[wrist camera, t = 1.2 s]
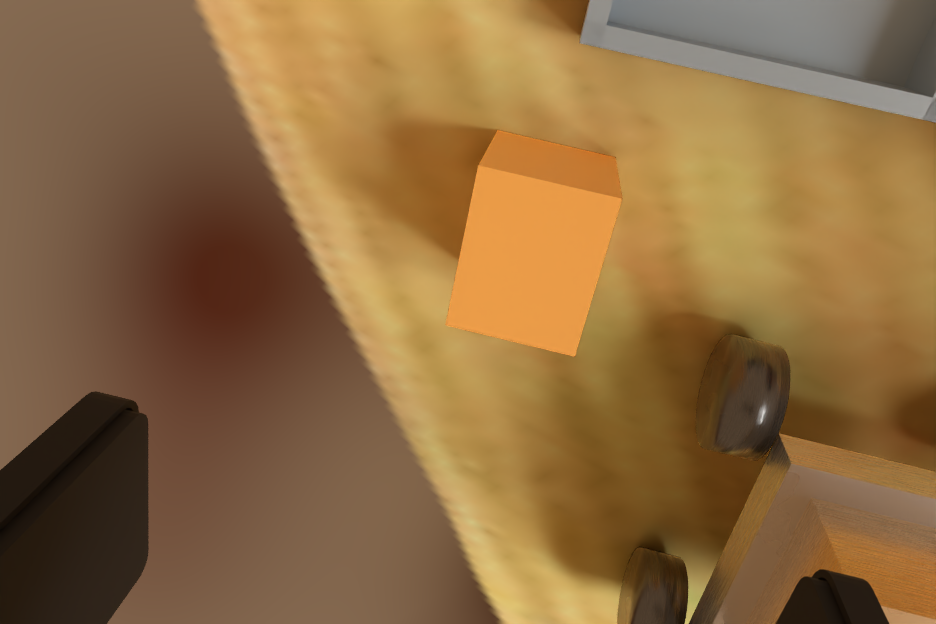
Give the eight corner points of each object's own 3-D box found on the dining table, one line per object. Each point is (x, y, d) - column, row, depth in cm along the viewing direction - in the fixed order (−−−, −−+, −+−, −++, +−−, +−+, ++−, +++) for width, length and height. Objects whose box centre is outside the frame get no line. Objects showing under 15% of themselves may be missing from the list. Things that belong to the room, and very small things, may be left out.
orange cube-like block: (615, 156, 24) (622, 198, 20) (576, 291, 26) (574, 356, 22) (497, 129, 24) (478, 165, 20) (468, 265, 27) (445, 325, 22)
